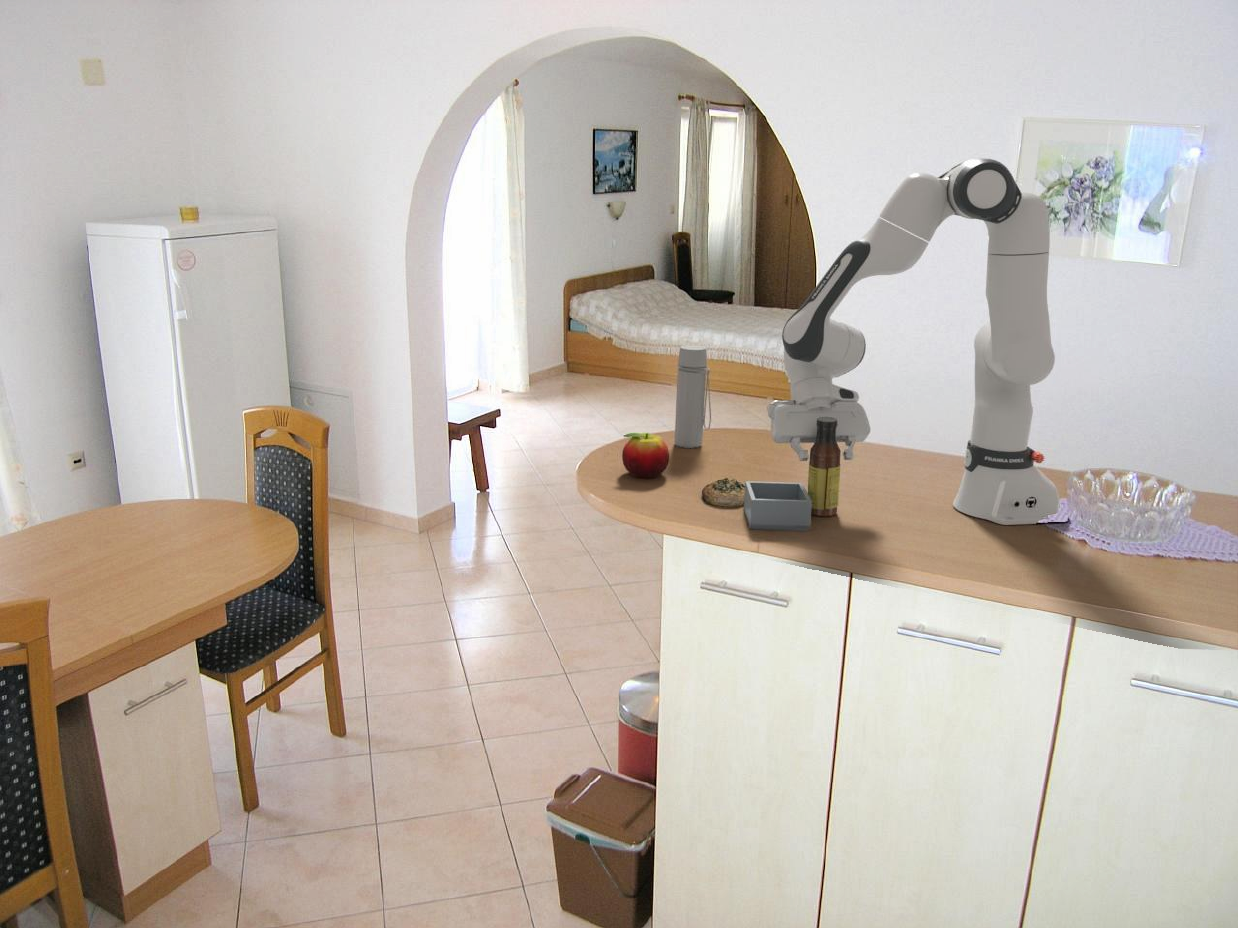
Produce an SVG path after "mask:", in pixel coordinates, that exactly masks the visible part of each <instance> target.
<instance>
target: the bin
mask: <svg viewBox="0 0 1238 928" xmlns="http://www.w3.org/2000/svg"><path fill="white" fill-rule="evenodd" d="M744 486H745V493H744V505H743V511H744V515H745V518H746V521H747V524H748V525H747V526H748V527H749V529H750V530H764V531H765V530H768V531H769V530H770V531H774V530H775V531H796V532H797V531H799V532H800V531H803V532H810V528H811V518H812V514H811V508H812V501H811V499H810V497H809V495H808V490H807V489H806V488H805V485H804V483H803V482H782V481H781V482H780V481H754V480H753V481H752V480H751V481H748V480H746V481H745V483H744Z"/></svg>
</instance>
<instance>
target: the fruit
mask: <svg viewBox="0 0 1238 928" xmlns="http://www.w3.org/2000/svg"><path fill="white" fill-rule="evenodd" d="M623 437H624V438H630V439H628V440H627V441H626V443H625V444H624V446H623V449H622V454H621V457H622V458H621V459H622V464H623V467H624V468H625V470H626V471H627V473H629V474H630V475H632V476H633V477H635V478H641V479H652V478H653V479H654V478H657V477H659V476H660V475H661V474H663V472H664V471H665V470H666V469H667V467H668V465H669V462H670V453H669V447H668V445H667V444H666V442H665V440H664V439H663V438H662V437H661V436H659V435H656V434H653V433H652V434H651V433H649V432H640V433H639V432H630V433H626V434H625V435H623Z"/></svg>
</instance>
